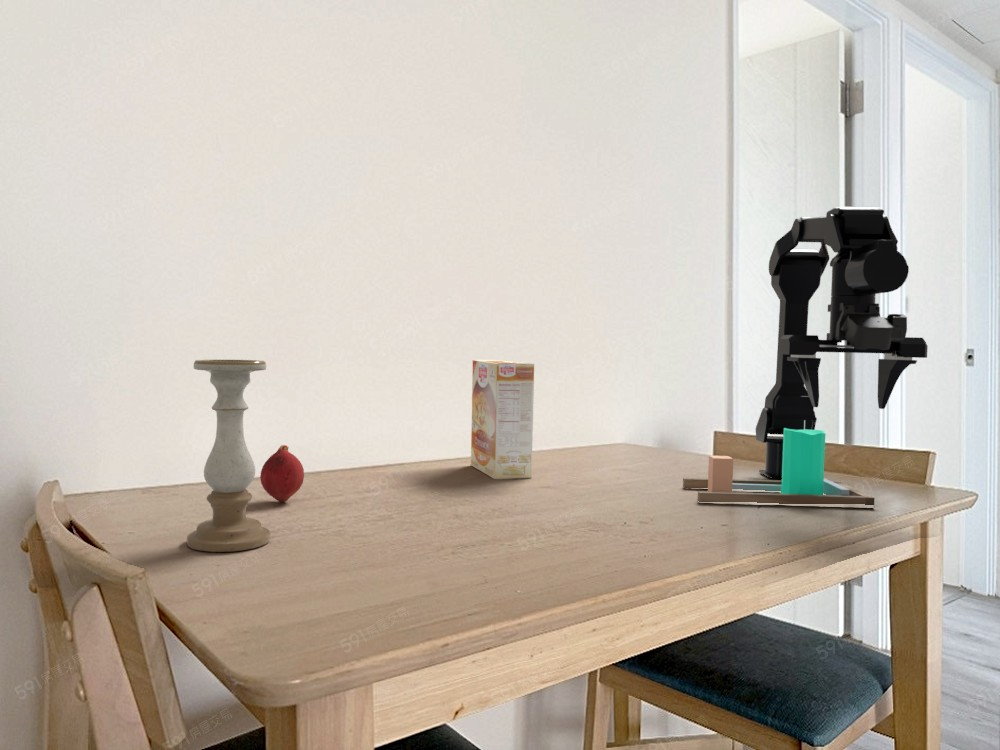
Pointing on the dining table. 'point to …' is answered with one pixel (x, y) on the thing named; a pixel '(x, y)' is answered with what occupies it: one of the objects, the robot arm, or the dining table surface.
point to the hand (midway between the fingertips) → (848, 407)
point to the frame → (723, 482)
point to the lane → (705, 496)
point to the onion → (282, 474)
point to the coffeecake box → (502, 418)
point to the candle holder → (229, 464)
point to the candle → (803, 461)
